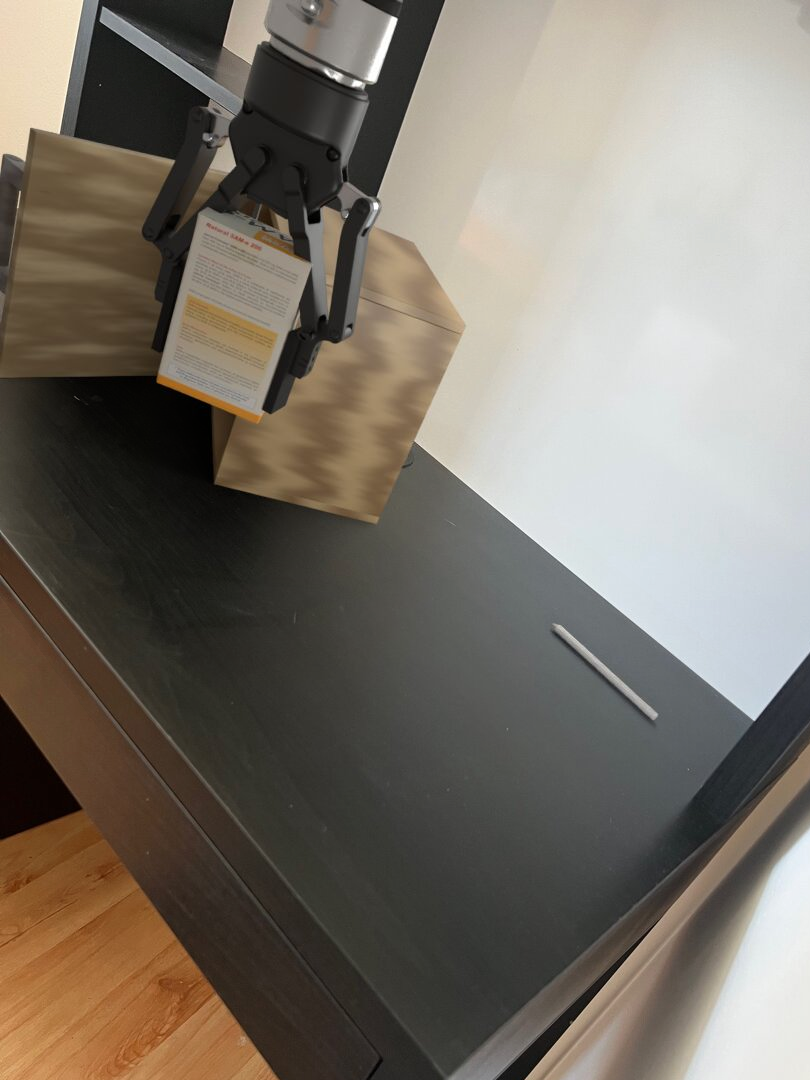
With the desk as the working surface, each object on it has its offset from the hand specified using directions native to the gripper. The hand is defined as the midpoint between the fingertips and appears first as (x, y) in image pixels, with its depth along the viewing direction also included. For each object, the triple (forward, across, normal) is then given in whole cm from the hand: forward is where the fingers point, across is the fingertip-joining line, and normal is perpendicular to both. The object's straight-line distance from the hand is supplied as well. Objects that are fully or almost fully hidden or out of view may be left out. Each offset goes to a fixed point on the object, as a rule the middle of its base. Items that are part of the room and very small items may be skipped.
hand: (219, 377), depth 65 cm
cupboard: (+18, -2, +30) cm, 35 cm away
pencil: (+17, +42, +18) cm, 48 cm away
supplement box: (+2, 0, 0) cm, 2 cm away
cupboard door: (+18, -25, +26) cm, 40 cm away
